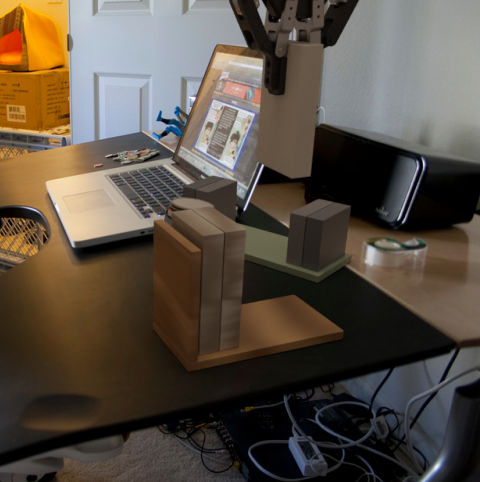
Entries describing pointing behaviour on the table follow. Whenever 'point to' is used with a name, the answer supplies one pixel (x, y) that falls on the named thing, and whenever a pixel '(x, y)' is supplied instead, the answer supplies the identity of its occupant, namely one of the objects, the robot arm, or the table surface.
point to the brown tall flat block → (291, 113)
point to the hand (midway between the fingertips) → (288, 92)
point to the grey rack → (299, 238)
